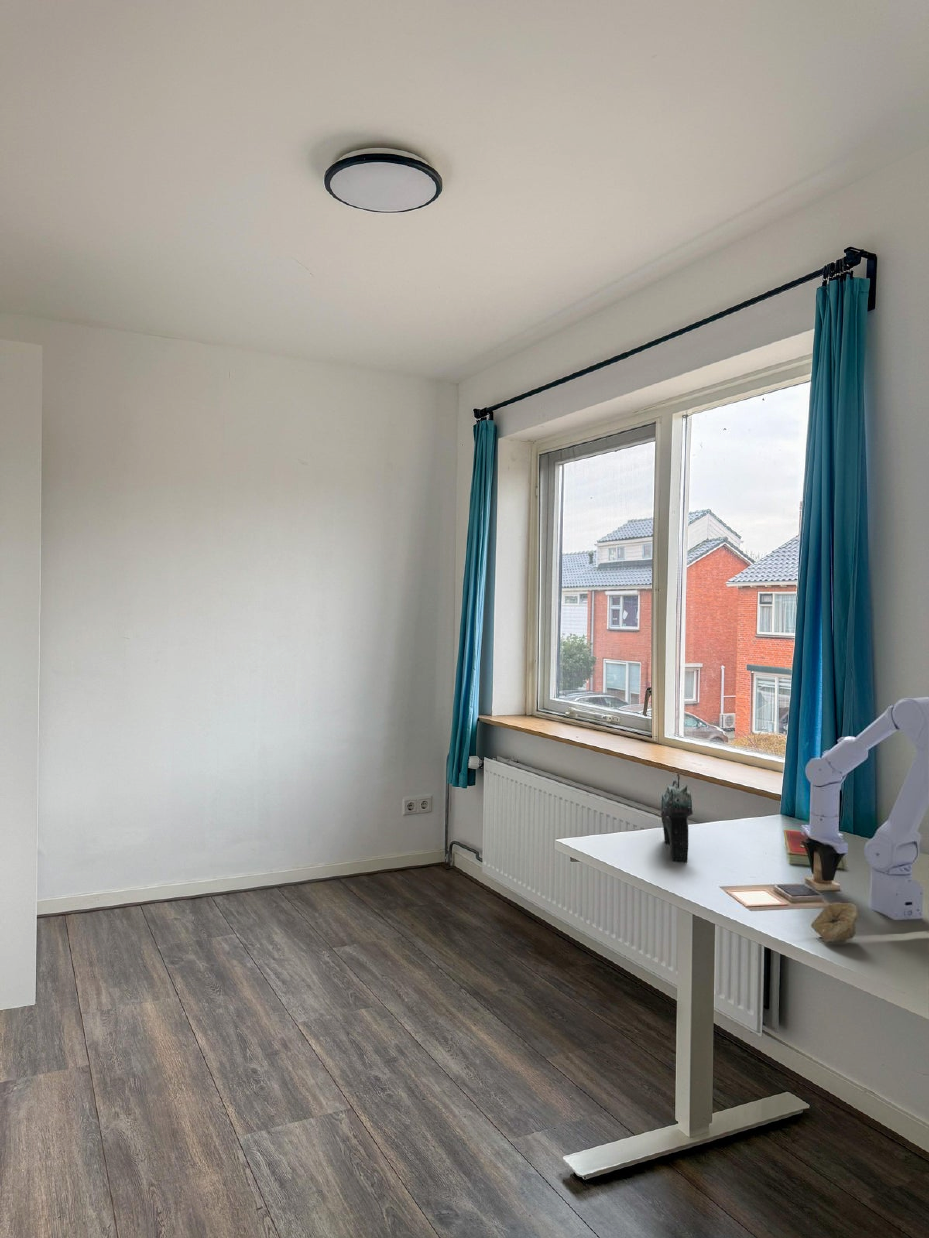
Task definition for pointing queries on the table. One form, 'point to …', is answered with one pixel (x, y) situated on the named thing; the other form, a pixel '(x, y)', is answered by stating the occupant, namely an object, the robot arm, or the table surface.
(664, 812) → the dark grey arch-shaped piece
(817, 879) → the stamp
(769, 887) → the board
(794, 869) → the table surface
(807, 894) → the ink pad
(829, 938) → the fossil
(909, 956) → the table surface
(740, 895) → the square coaster
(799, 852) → the hardcover book
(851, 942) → the table surface
